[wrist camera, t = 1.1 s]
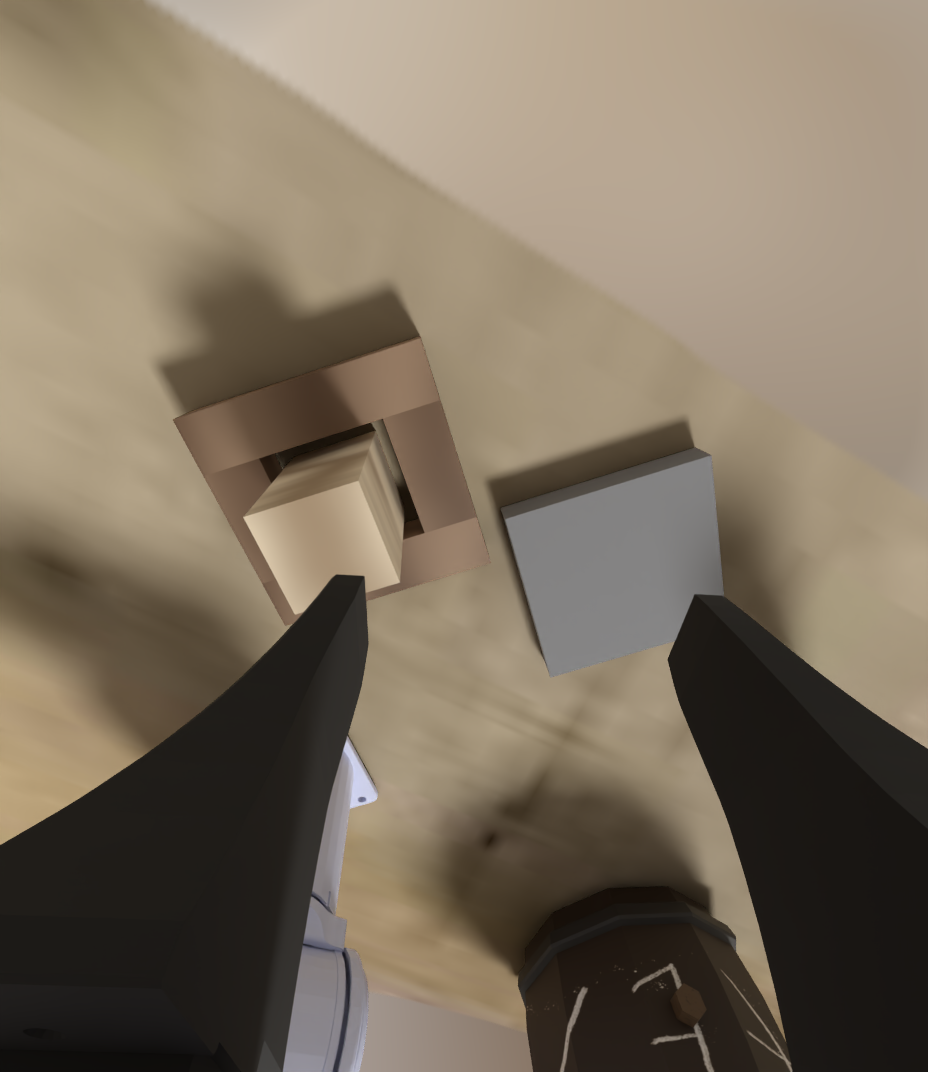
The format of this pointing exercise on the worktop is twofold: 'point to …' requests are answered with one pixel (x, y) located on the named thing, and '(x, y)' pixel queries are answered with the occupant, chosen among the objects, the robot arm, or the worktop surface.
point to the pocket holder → (329, 408)
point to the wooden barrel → (644, 990)
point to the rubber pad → (617, 558)
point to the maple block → (331, 520)
